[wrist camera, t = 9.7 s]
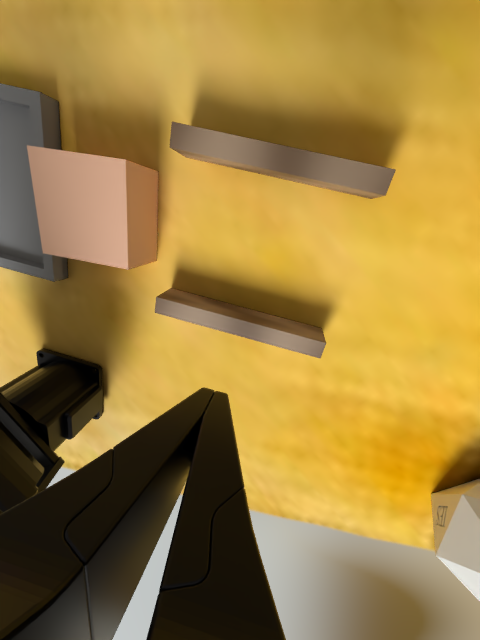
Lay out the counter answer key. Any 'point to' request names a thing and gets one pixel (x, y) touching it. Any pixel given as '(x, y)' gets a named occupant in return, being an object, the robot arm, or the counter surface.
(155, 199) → the block
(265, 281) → the counter surface
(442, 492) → the die
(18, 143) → the tray
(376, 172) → the corridor rails
